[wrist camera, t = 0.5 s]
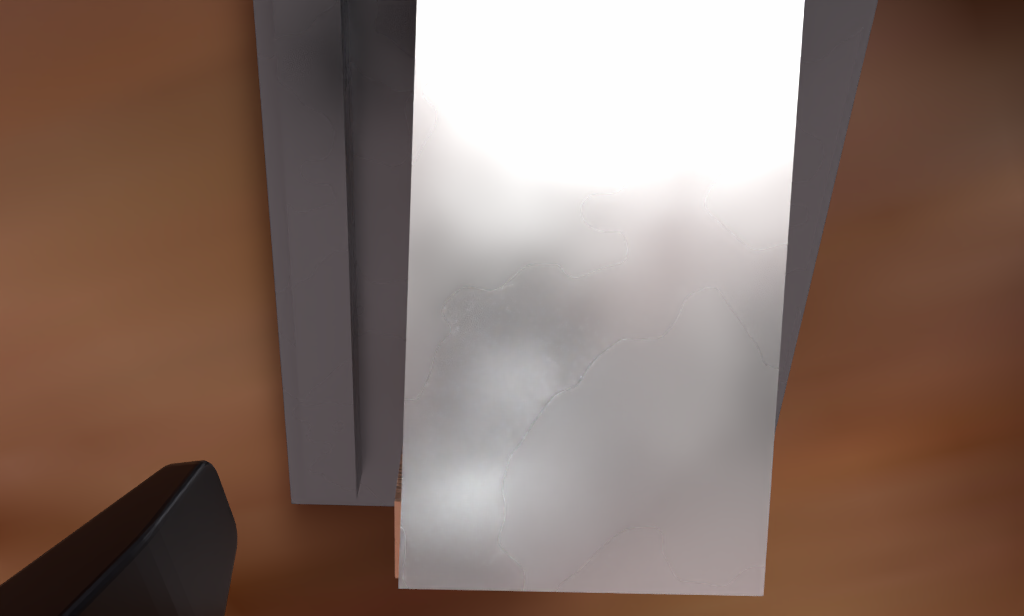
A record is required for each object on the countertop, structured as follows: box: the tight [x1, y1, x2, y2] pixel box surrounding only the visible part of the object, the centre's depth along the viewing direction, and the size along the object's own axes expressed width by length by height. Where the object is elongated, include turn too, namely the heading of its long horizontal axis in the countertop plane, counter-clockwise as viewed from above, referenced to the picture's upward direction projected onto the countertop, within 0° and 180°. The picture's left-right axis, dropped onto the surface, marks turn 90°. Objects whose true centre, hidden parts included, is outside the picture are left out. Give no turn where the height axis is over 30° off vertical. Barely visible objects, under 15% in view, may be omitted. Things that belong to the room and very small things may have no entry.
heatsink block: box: [253, 0, 878, 578], centre depth 16 cm, size 12×24×6 cm, turn 177°
